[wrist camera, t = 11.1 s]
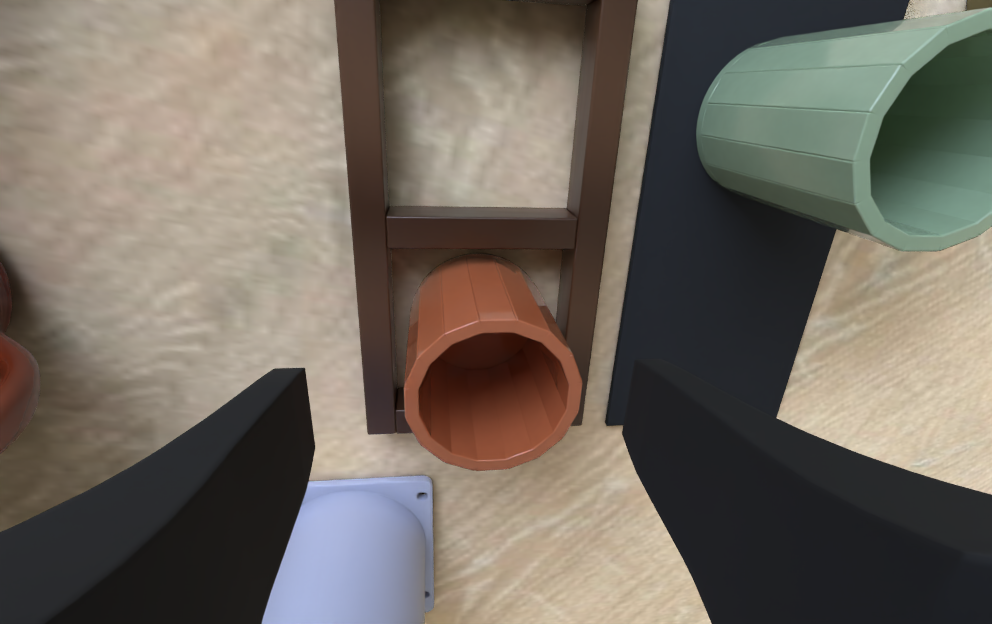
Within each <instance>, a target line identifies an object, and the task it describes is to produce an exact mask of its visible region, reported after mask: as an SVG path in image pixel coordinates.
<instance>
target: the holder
mask: <svg viewBox="0 0 992 624" xmlns="http://www.w3.org/2000/svg"><path fill="white" fill-rule="evenodd" d="M508 1H523V2H538V3H553V4H568V5H583V6H585V5H587V8H586V18H585V29H584V39H583V49H582V60H581V70H580V80H579V90H578V101H577V111H576V121H575V132H574V142H573V152H572V162H571V173H570V183H569V193H568V204H567V209H565V208H508V207H436V206H390V207H389V194H388V173H387V151H386V129H385V107H384V85H383V64H382V42H381V20H380V0H334V4H335V17H336V30H337V43H338V56H339V69H340V82H341V95H342V108H343V121H344V134H345V147H346V160H347V173H348V186H349V199H350V212H351V225H352V238H353V251H354V264H355V277H356V289H357V302H358V315H359V328H360V341H361V354H362V367H363V380H364V393H365V406H366V419H367V432H368V434H369V435H370V434H393V433H413V431H412V430H411V428H410V426H409V424H408V422H407V421H406V418H405V408H404V388H398V389H397V369H396V347H395V325H394V303H393V281H392V260H391V249H563V255H562V265H561V276H560V286H559V296H558V307H557V317H556V324H557V326H558V327H559V329H560V331H561V333H562V335H563V337H564V338H565V340H566V342H567V344H568V346H569V348H570V350H571V351H572V353H573V355H574V358H575V361H576V364H577V367H578V370H579V373H580V375H581V378H582V391H581V399H580V407H579V411H578V414H577V416H576V417H575V419H574V421H573V422H572V424H571V426H579V425H582V419H583V411H584V404H585V396H586V389H587V381H588V373H589V366H590V358H591V351H592V343H593V335H594V328H595V320H596V313H597V305H598V298H599V290H600V282H601V275H602V267H603V260H604V252H605V245H606V237H607V229H608V222H609V214H610V207H611V199H612V191H613V184H614V176H615V169H616V161H617V154H618V146H619V138H620V131H621V123H622V116H623V108H624V100H625V93H626V85H627V78H628V70H629V63H630V55H631V47H632V40H633V32H634V25H635V17H636V10H637V2H638V0H508Z"/></svg>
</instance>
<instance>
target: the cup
mask: <svg viewBox="0 0 992 624" xmlns="http://www.w3.org/2000/svg"><path fill="white" fill-rule="evenodd" d="M696 142H697V149H698V153H699V157H700V160H701V162H702V165H703V167H704V168H705V170H706V172H707V173H708V174H709V176H710V177H711V178H712V179H713V180H714V181H715V182H716V183H717V184H718V185H720V186H722V187H723V188H725V189H727V190H729V191H732V192H734V193H737V194H739V195H740V196H743V197H746V198H749V199H751V200H754V201H757V202H760V203H763V204H766V205H769V206H772V207H774V208H777V209H780V210H783V211H786V212H789V213H792V214H795V215H798V216H800V217H803V218H806V219H809V220H812V221H815V222H818V223H821V224H823V225H826V226H829V227H832V228H835V229H838V230H841V231H844V232H847V233H849V234H852V235H855V236H858V237H861V238H864V239H867V240H870V241H873V242H875V243H878V244H881V245H884V246H887V247H890V248H893V249H896V250H898V251H941V250H944V249H946V248H949V247H952V246H954V245H957V244H959V243H962V242H965V241H967V240H970V239H973V238H975V237H977V236H978V235H981V234H982V233H984V232H985V231H986V230H988V229H989V228H990V227H992V7H989V8H982V9H975V10H968V11H961V12H954V13H947V14H940V15H933V16H926V17H919V18H912V19H905V20H898V21H891V22H884V23H877V24H870V25H863V26H856V27H849V28H842V29H835V30H828V31H821V32H814V33H807V34H800V35H793V36H786V37H780V38H777V39H774V40H770V41H765V42H762V43H759V44H756V45H754V46H752V47H750V48H748V49H746V50H745V51H743V52H742V53H740V54H738V55H737V56H736V57H735V58H734V59H732V60H731V61H730V62H729V63H728V64H727V65H726V66H725V67H724V68H723V69H722V70H721V71H720V73H719V74H718V75H717V77H716V78H715V79H714V81H713V82H712V84H711V86H710V87H709V89H708V91H707V93H706V95H705V97H704V99H703V102H702V105H701V108H700V111H699V115H698V120H697V127H696Z"/></svg>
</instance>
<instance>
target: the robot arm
mask: <svg viewBox="0 0 992 624" xmlns="http://www.w3.org/2000/svg"><path fill="white" fill-rule="evenodd" d="M622 435H623V437H624V440H625V443H626V446H627V449H628V452H629V455H630V457H631V460H632V462H633V465H634V467H635V470H636V472H637V474H638V476H639V478H640V480H641V482H642V484H643V486H644V488H645V490H646V492H647V493H648V495H649V497H650V499H651V501H652V503H653V505H654V506H655V508H656V510H657V512H658V514H659V516H660V517H661V519H662V521H663V523H664V525H665V527H666V528H667V530H668V532H669V534H670V536H671V538H672V540H673V541H674V543H675V545H676V547H677V549H678V551H679V552H680V554H681V556H682V558H683V560H684V562H685V564H686V566H687V568H688V570H689V572H690V574H691V576H692V578H693V580H694V582H695V585H696V587H697V589H698V592H699V594H700V597H701V599H702V601H703V604H704V606H705V608H706V611H707V613H708V616H709V618H710V620H711V623H712V624H992V495H990V494H987V493H983V492H980V491H976V490H972V489H969V488H965V487H961V486H958V485H954V484H950V483H947V482H944V481H940V480H937V479H934V478H930V477H927V476H924V475H920V474H917V473H914V472H911V471H908V470H905V469H902V468H899V467H896V466H893V465H890V464H887V463H884V462H882V461H879V460H876V459H873V458H870V457H867V456H864V455H862V454H859V453H856V452H854V451H851V450H848V449H846V448H843V447H841V446H839V445H836V444H834V443H831V442H829V441H826V440H824V439H821V438H819V437H817V436H814V435H812V434H809V433H807V432H805V431H803V430H800V429H798V428H796V427H794V426H792V425H789V424H787V423H785V422H783V421H781V420H779V419H777V418H775V417H773V416H771V415H769V414H767V413H765V412H763V411H761V410H759V409H757V408H755V407H753V406H751V405H749V404H747V403H745V402H743V401H741V400H739V399H738V398H736V397H734V396H732V395H730V394H728V393H726V392H725V391H723V390H721V389H719V388H717V387H715V386H714V385H712V384H710V383H708V382H706V381H704V380H703V379H701V378H699V377H697V376H695V375H693V374H691V373H690V372H688V371H686V370H684V369H682V368H680V367H678V366H676V365H674V364H672V363H670V362H667V361H665V360H662V359H635V362H634V368H633V374H632V379H631V385H630V391H629V397H628V402H627V408H626V414H625V420H624V426H623V431H622ZM314 451H315V442H314V434H313V426H312V419H311V411H310V403H309V396H308V388H307V380H306V373H305V368H281V369H273V370H272V371H270V372H268V373H267V374H265V375H264V376H263V377H261V378H260V379H258V380H257V381H256V382H254V383H253V384H252V385H250V386H249V387H248V388H246V389H245V390H244V391H242V392H241V393H240V394H238V395H237V396H236V397H234V398H233V399H232V400H230V401H229V402H228V403H226V404H225V405H223V406H222V407H221V408H219V409H218V410H217V411H215V412H214V413H212V414H211V415H210V416H208V417H207V418H206V419H204V420H203V421H201V422H200V423H198V424H197V425H195V426H194V427H192V428H191V429H189V430H188V431H186V432H185V433H183V434H182V435H180V436H179V437H177V438H176V439H174V440H173V441H171V442H170V443H168V444H167V445H165V446H164V447H162V448H161V449H159V450H158V451H156V452H155V453H153V454H151V455H150V456H148V457H146V458H145V459H143V460H141V461H140V462H138V463H136V464H135V465H133V466H131V467H130V468H128V469H126V470H124V471H122V472H121V473H119V474H117V475H115V476H113V477H112V478H110V479H108V480H106V481H104V482H103V483H101V484H99V485H97V486H95V487H93V488H91V489H90V490H88V491H86V492H84V493H82V494H80V495H78V496H75V497H73V498H71V499H69V500H67V501H65V502H63V503H61V504H59V505H57V506H55V507H53V508H51V509H49V510H47V511H45V512H43V513H41V514H38V515H36V516H34V517H32V518H30V519H28V520H26V521H24V522H22V523H20V524H18V525H16V526H13V527H11V528H9V529H7V530H4V531H2V532H0V624H425V613H426V612H429V611H431V610H432V609H433V608H434V557H433V487H432V480H431V479H430V477H428V476H424V475H419V476H400V477H381V478H363V479H344V480H325V481H309V476H310V472H311V467H312V461H313V456H314ZM421 492H425V493H426V494H423V495H422V494H419V493H421Z"/></svg>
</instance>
